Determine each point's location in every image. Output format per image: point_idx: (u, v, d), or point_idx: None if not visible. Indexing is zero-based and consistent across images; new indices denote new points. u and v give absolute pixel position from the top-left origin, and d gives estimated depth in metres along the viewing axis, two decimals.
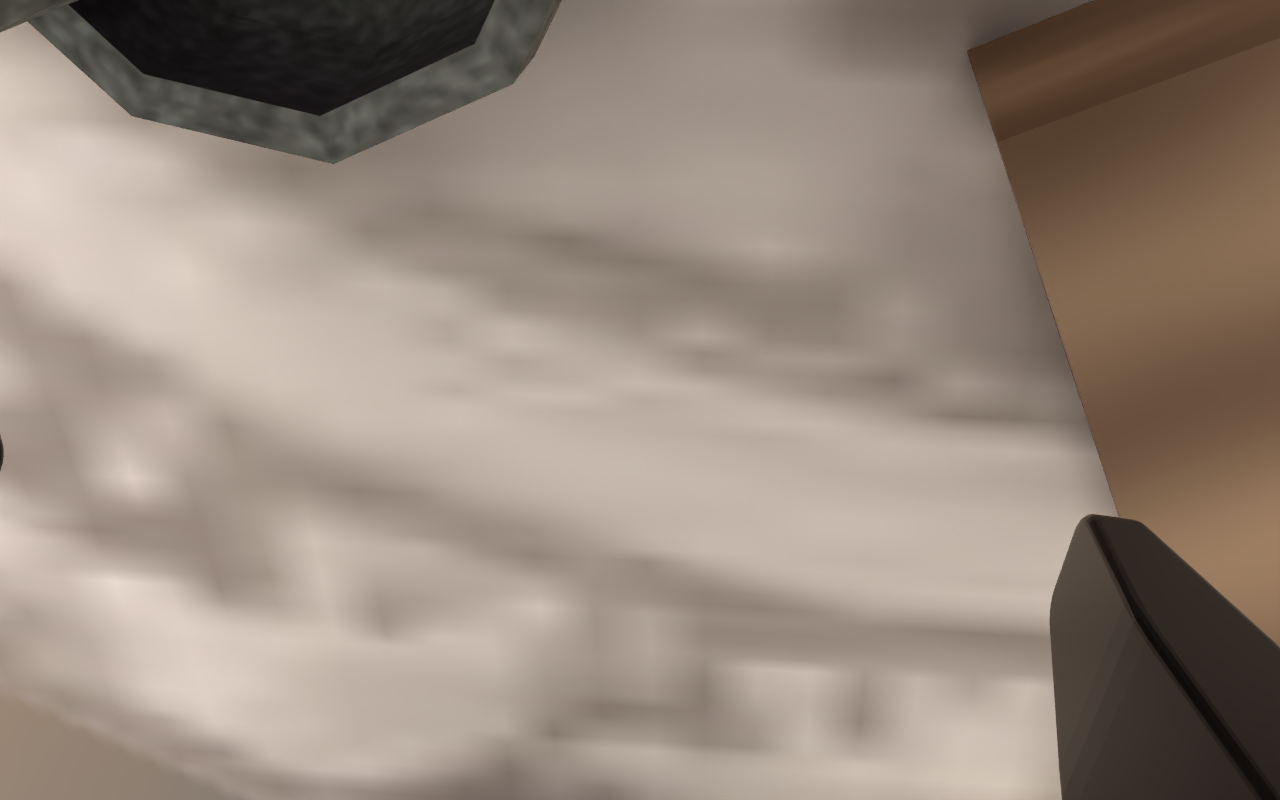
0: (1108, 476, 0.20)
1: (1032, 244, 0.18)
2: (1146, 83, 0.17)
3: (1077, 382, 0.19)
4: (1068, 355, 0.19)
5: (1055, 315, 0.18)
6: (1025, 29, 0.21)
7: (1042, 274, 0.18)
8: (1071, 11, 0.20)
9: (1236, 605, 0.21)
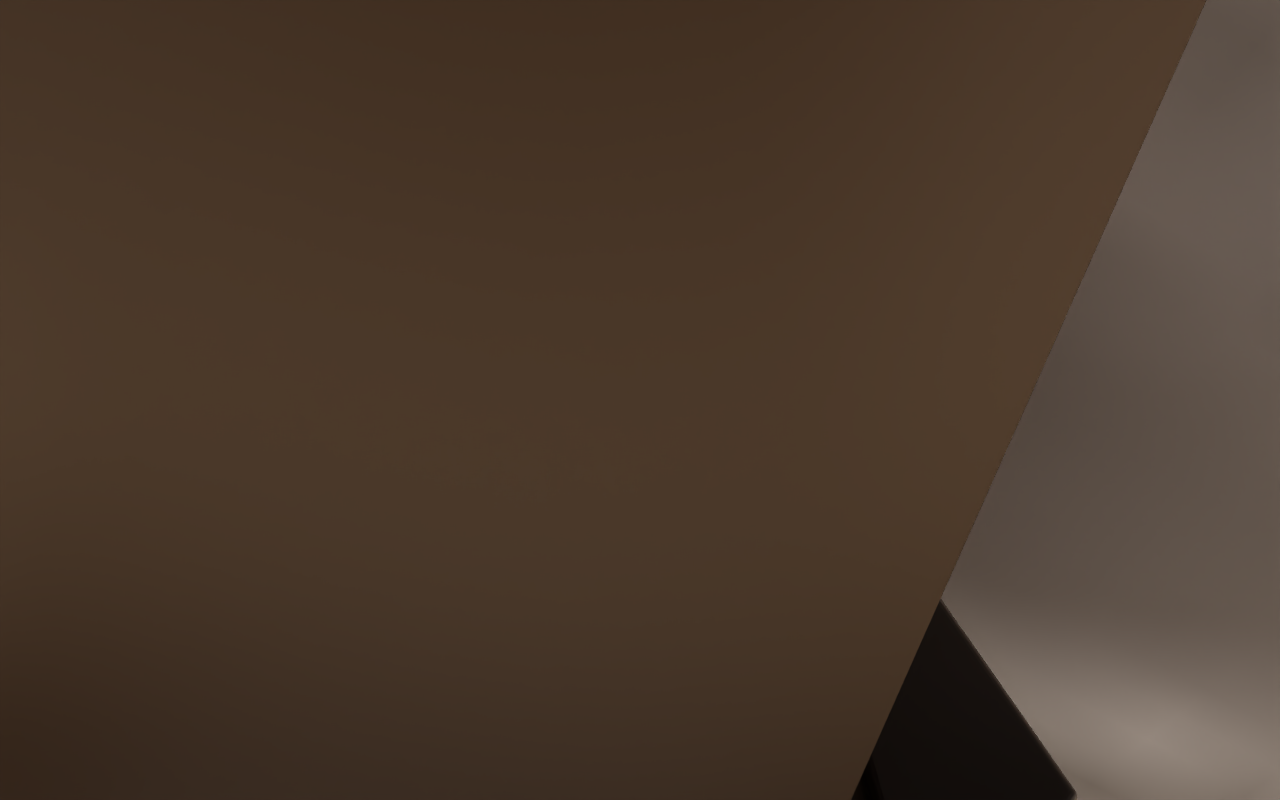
0: None
1: None
2: None
3: None
4: None
5: None
6: None
7: None
8: None
9: None
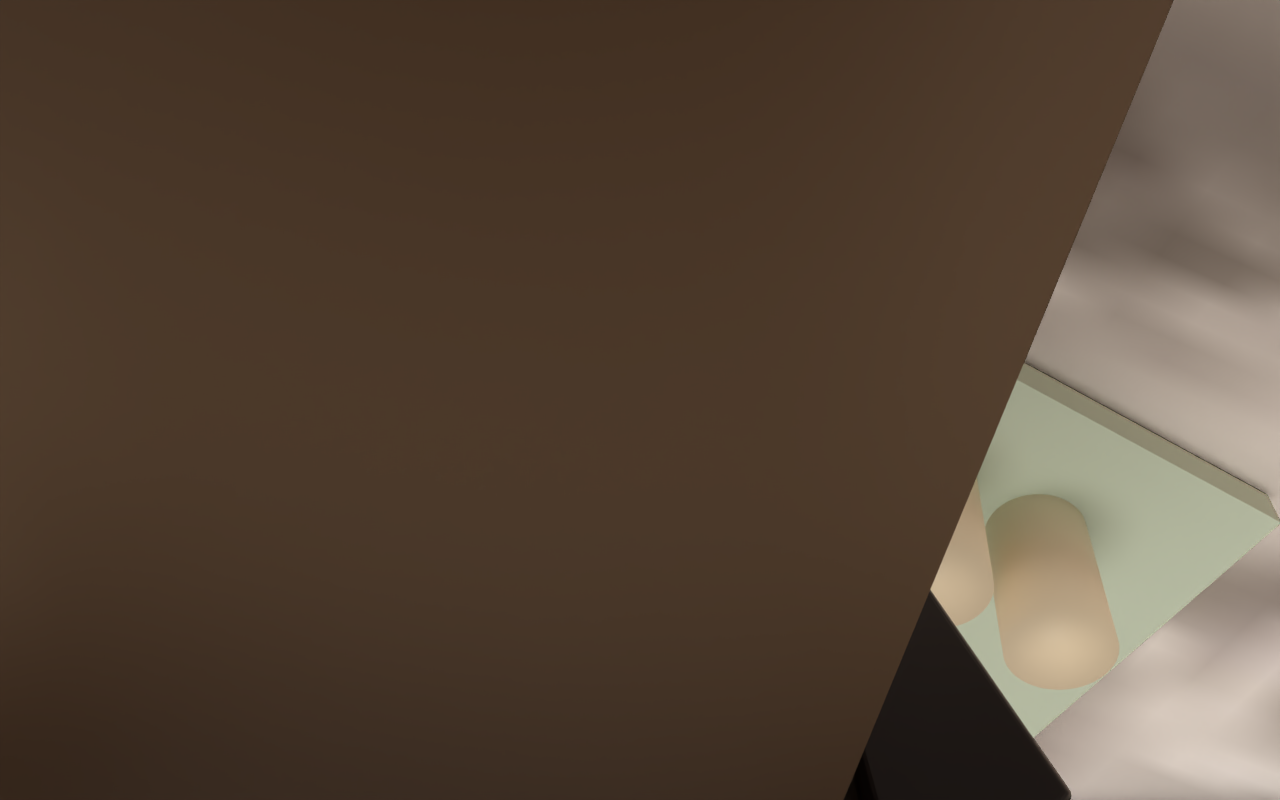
0: None
1: None
2: None
3: None
4: None
5: None
6: None
7: None
8: None
9: None
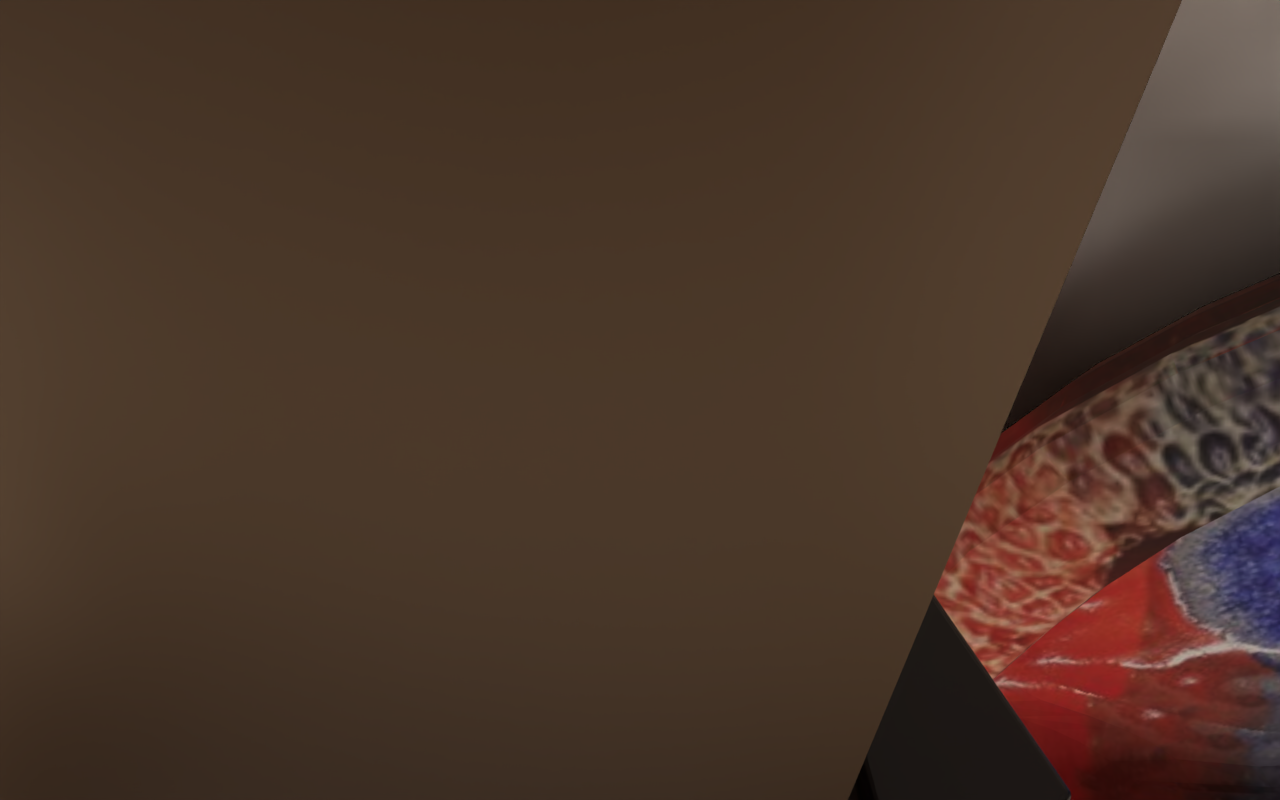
0: None
1: None
2: None
3: None
4: None
5: None
6: None
7: None
8: None
9: None
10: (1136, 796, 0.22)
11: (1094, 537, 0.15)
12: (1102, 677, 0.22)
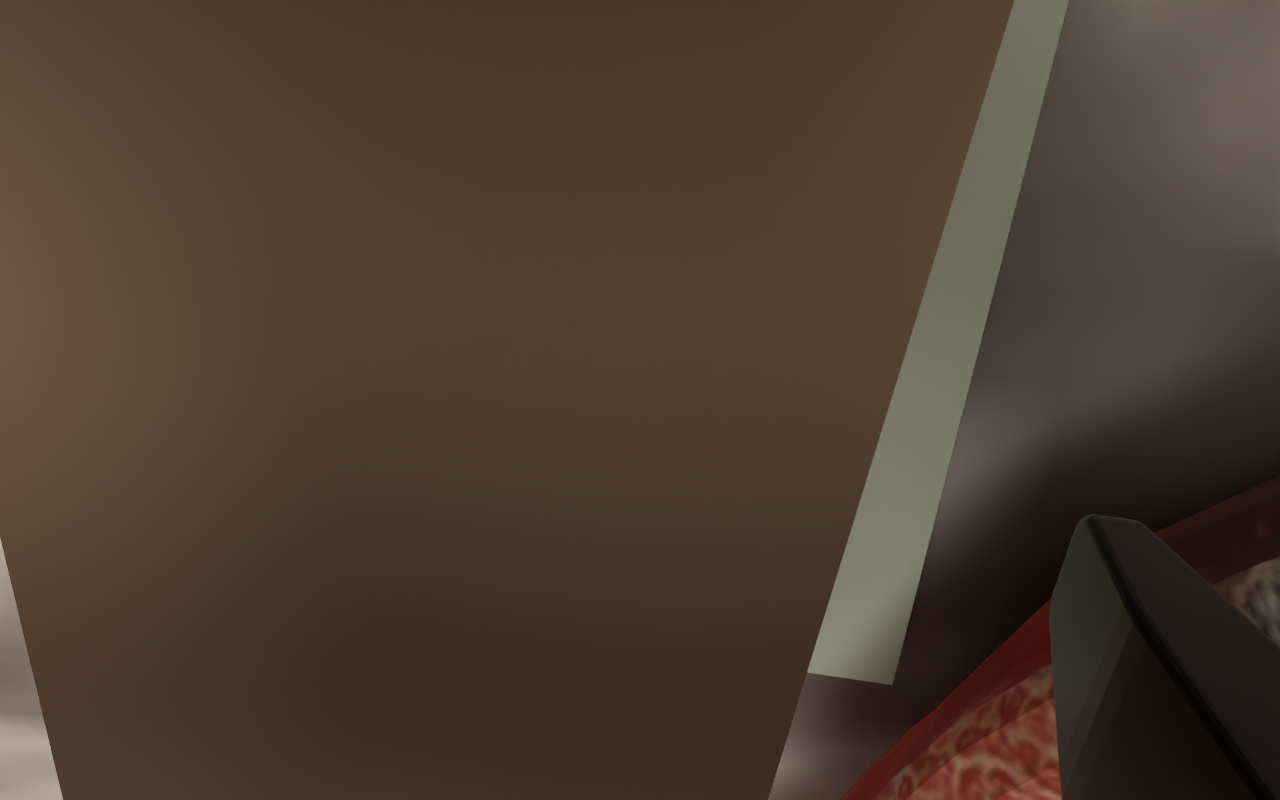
0: (54, 746, 0.07)
1: None
2: None
3: None
4: None
5: None
6: None
7: None
8: None
9: None
10: None
11: None
12: None
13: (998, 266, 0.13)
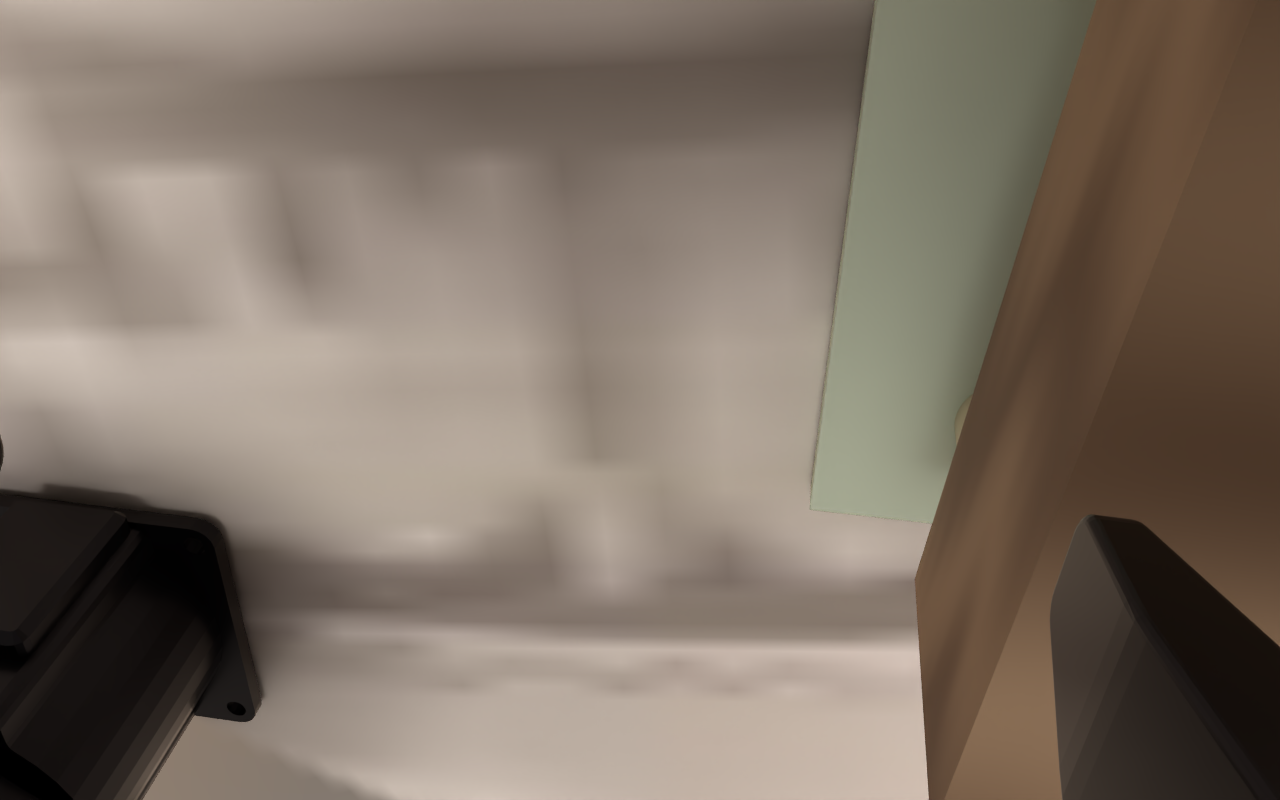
0: (1054, 526, 0.12)
1: (1226, 87, 0.09)
2: None
3: (1117, 363, 0.11)
4: (1136, 312, 0.11)
5: (1167, 235, 0.10)
6: None
7: (1200, 152, 0.10)
8: None
9: None
10: None
11: None
12: None
13: None
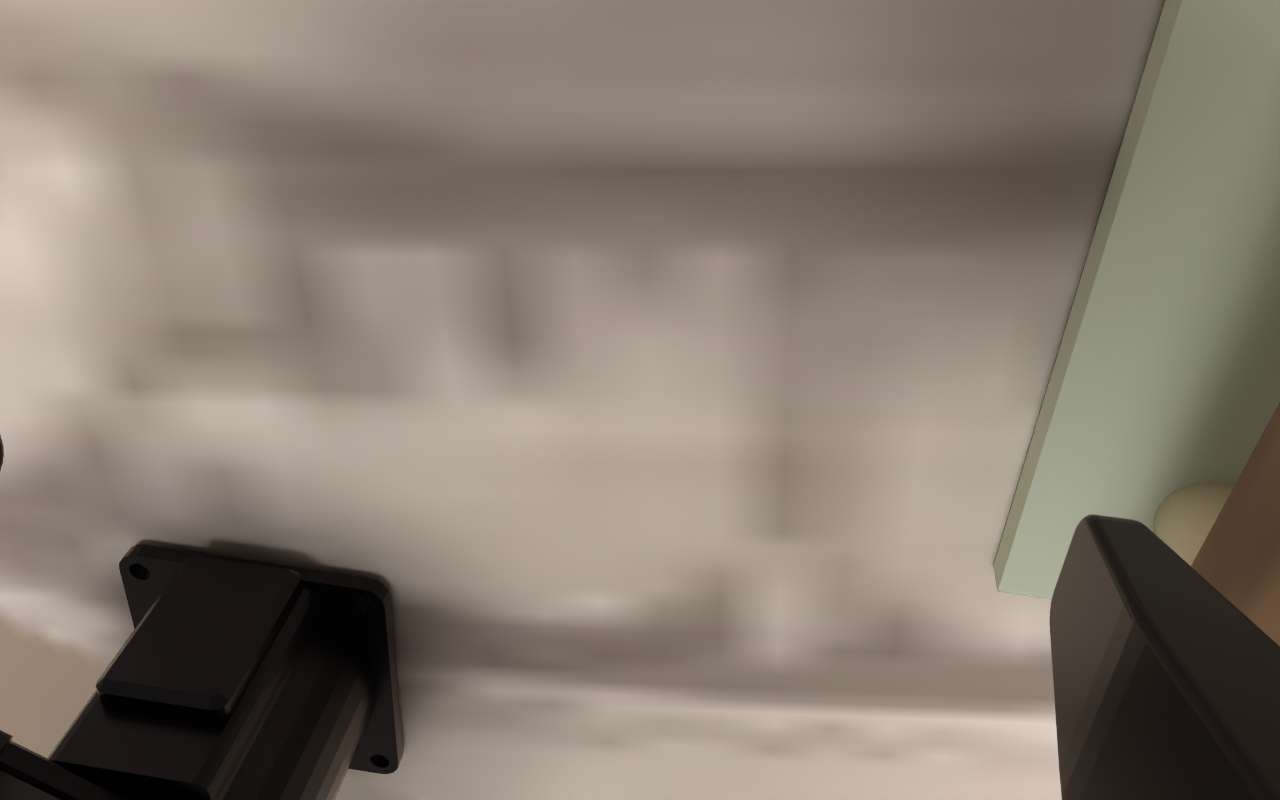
0: None
1: None
2: None
3: None
4: None
5: None
6: None
7: None
8: None
9: None
10: None
11: None
12: None
13: None
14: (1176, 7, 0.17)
